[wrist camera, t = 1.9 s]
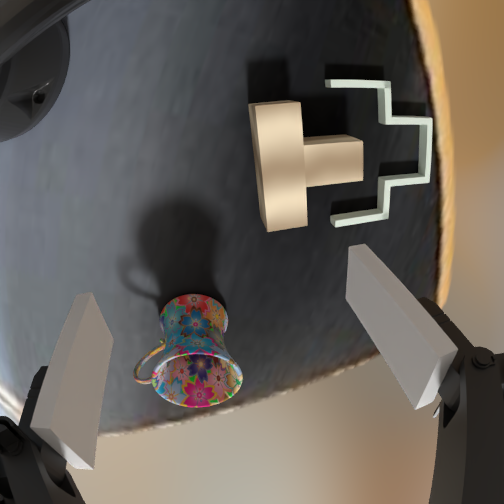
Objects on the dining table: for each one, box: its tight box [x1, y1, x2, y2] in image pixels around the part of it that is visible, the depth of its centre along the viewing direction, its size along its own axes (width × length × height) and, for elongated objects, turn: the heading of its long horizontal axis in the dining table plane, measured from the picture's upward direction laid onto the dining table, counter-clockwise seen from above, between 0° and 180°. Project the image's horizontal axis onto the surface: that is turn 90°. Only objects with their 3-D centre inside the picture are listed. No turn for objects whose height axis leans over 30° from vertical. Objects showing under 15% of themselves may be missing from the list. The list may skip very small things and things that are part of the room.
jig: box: [325, 80, 432, 227], centre depth 32 cm, size 16×13×2 cm
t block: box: [248, 100, 363, 232], centre depth 30 cm, size 12×10×4 cm
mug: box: [133, 294, 243, 407], centre depth 35 cm, size 12×9×11 cm
